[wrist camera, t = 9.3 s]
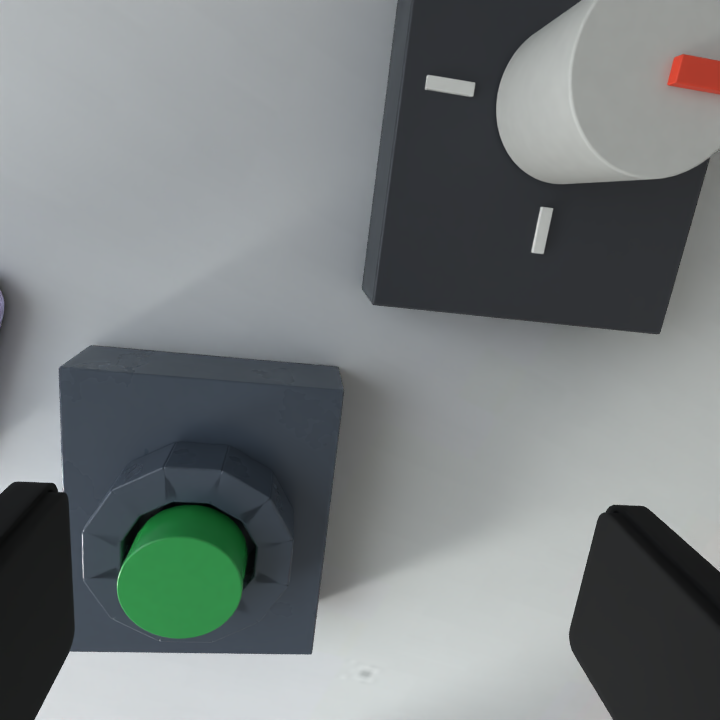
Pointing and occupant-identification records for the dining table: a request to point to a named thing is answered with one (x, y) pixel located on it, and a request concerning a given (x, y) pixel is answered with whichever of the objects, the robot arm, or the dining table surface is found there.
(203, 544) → the button
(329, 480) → the button housing
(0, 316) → the mobile phone
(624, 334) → the dining table surface
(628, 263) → the control panel
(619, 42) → the dial
